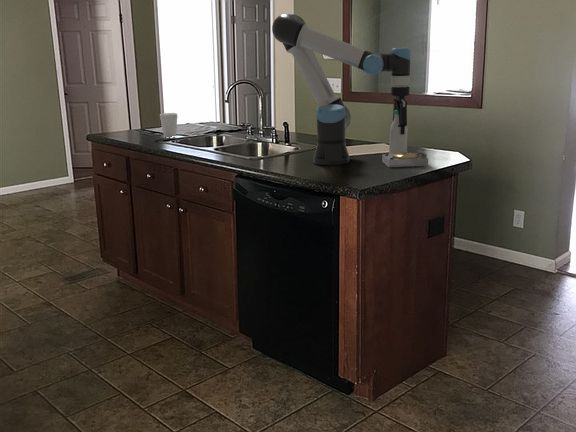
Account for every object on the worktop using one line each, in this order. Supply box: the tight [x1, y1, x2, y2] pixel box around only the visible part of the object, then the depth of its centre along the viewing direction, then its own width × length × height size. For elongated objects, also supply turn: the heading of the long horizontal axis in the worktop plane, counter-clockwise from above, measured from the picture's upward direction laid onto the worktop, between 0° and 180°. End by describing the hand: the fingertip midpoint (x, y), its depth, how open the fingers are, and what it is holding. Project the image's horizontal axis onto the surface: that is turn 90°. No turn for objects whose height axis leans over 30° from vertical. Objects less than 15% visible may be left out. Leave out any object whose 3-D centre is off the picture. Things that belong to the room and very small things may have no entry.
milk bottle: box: [388, 110, 409, 154], centre depth 259 cm, size 8×8×20 cm
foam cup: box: [159, 112, 178, 138], centre depth 334 cm, size 10×9×13 cm
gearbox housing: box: [382, 149, 429, 168], centre depth 248 cm, size 16×12×4 cm
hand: (399, 140), depth 260 cm, fingers closed on milk bottle, 7 cm apart
